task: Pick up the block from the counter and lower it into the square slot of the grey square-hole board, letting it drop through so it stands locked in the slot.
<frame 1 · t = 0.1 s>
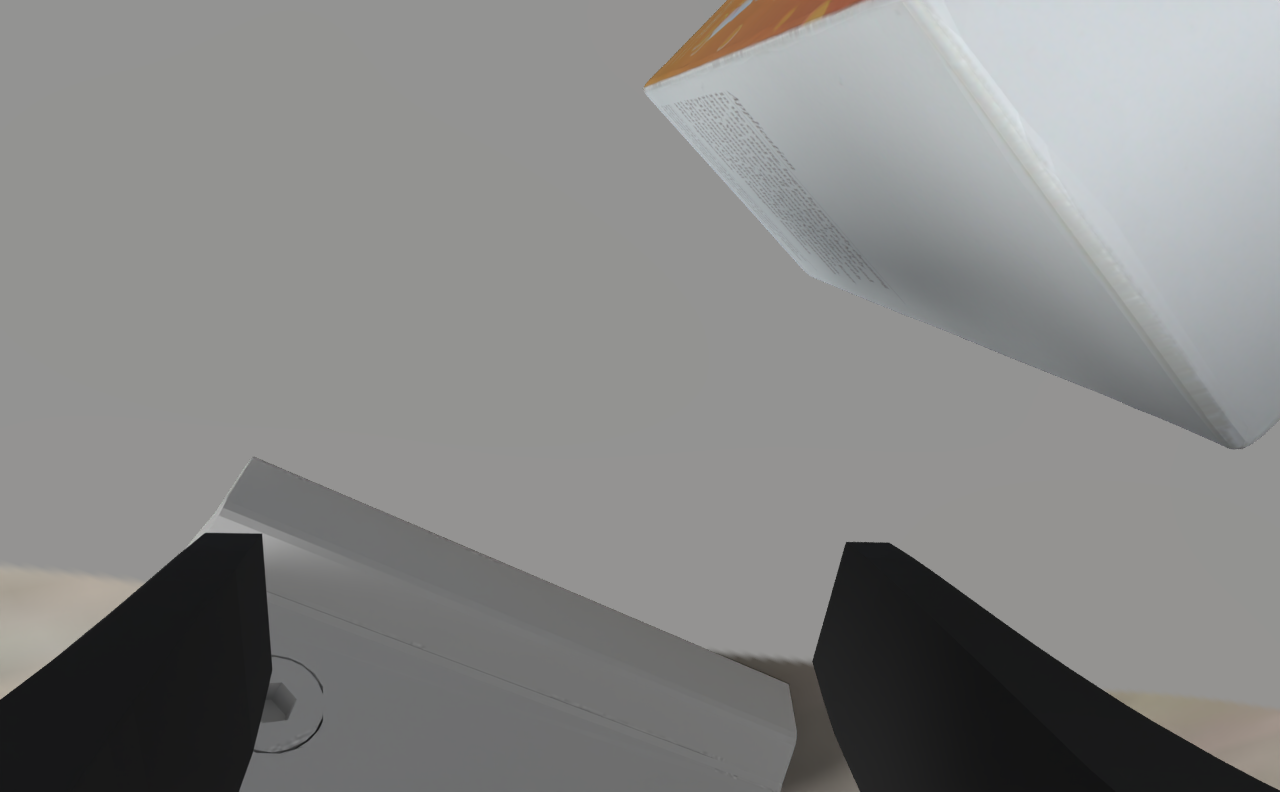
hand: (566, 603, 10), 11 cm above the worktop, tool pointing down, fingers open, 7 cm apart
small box: (840, 66, 20), on the worktop
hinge: (481, 689, 23), on the worktop
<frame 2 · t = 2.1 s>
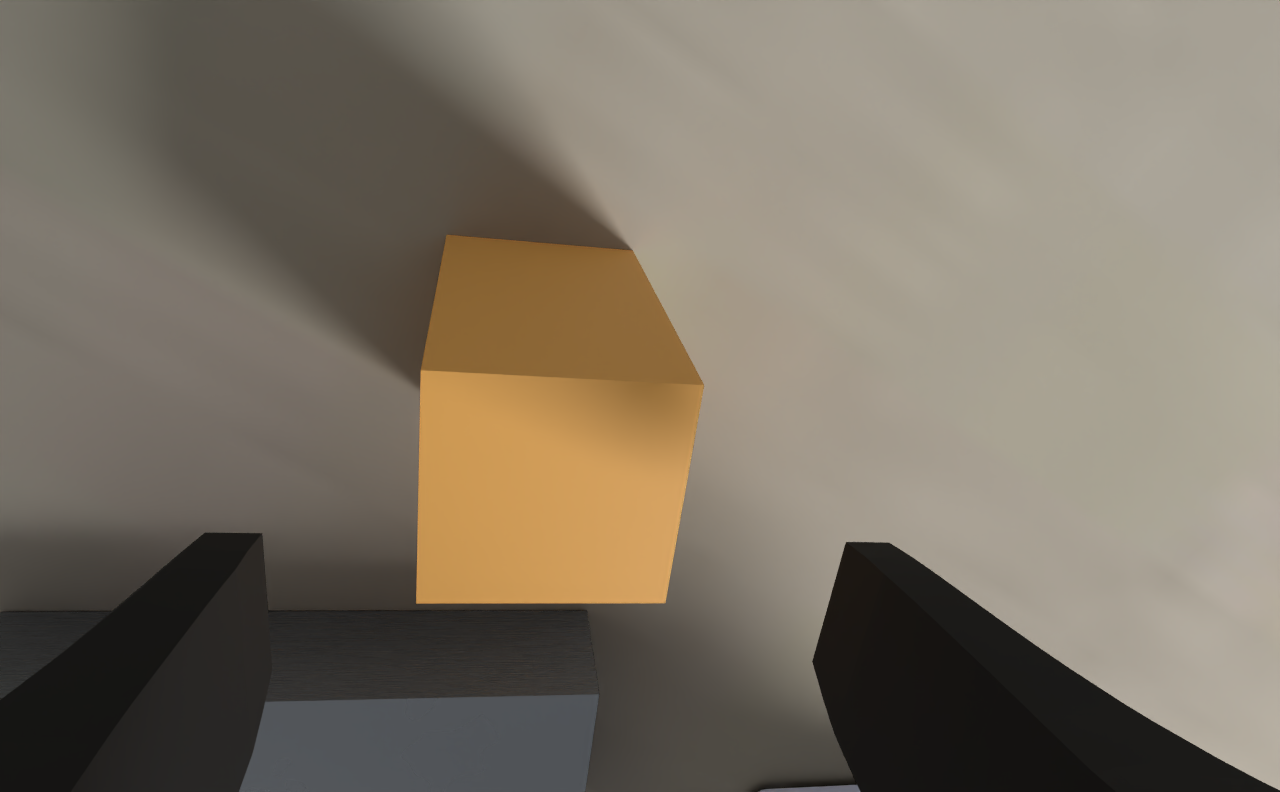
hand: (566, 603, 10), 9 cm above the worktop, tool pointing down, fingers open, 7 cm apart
block: (534, 329, 19), on the worktop
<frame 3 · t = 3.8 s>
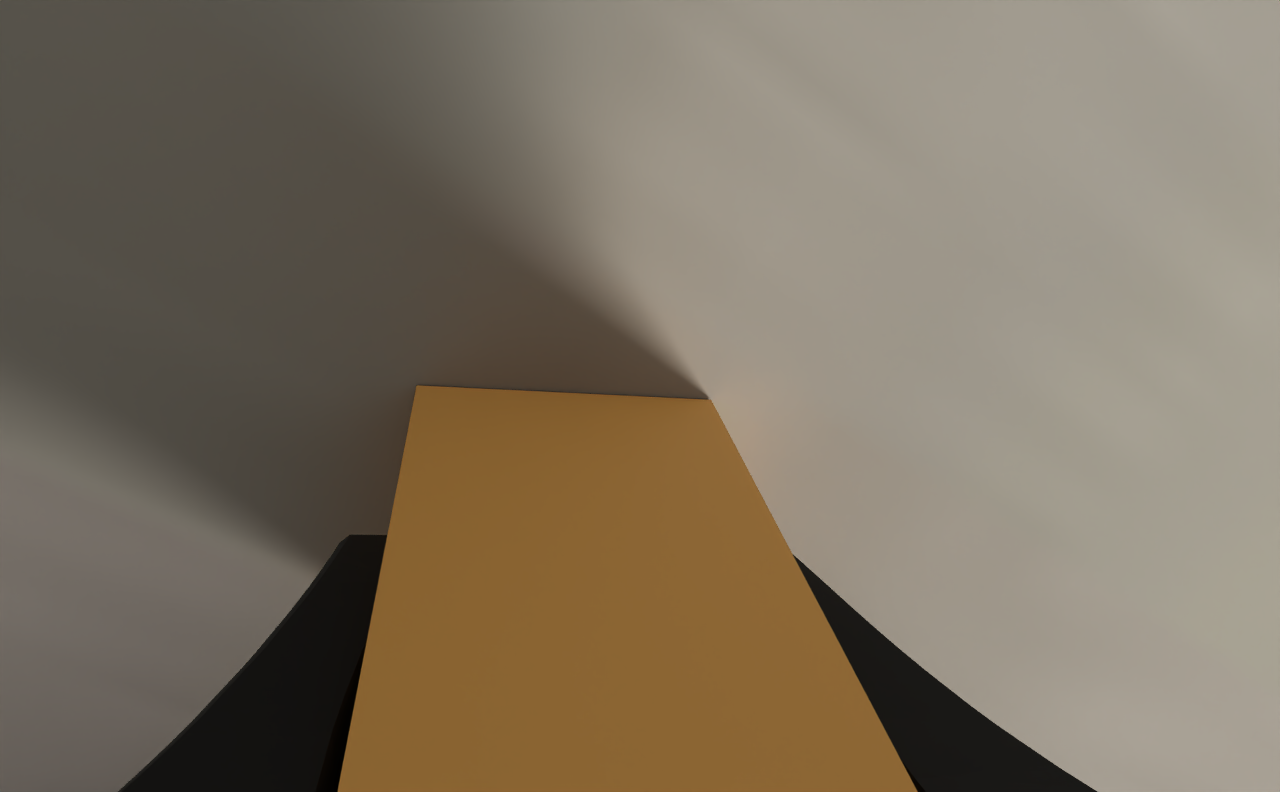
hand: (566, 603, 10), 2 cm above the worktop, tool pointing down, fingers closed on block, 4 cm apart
block: (556, 516, 12), on the worktop, touching gripper
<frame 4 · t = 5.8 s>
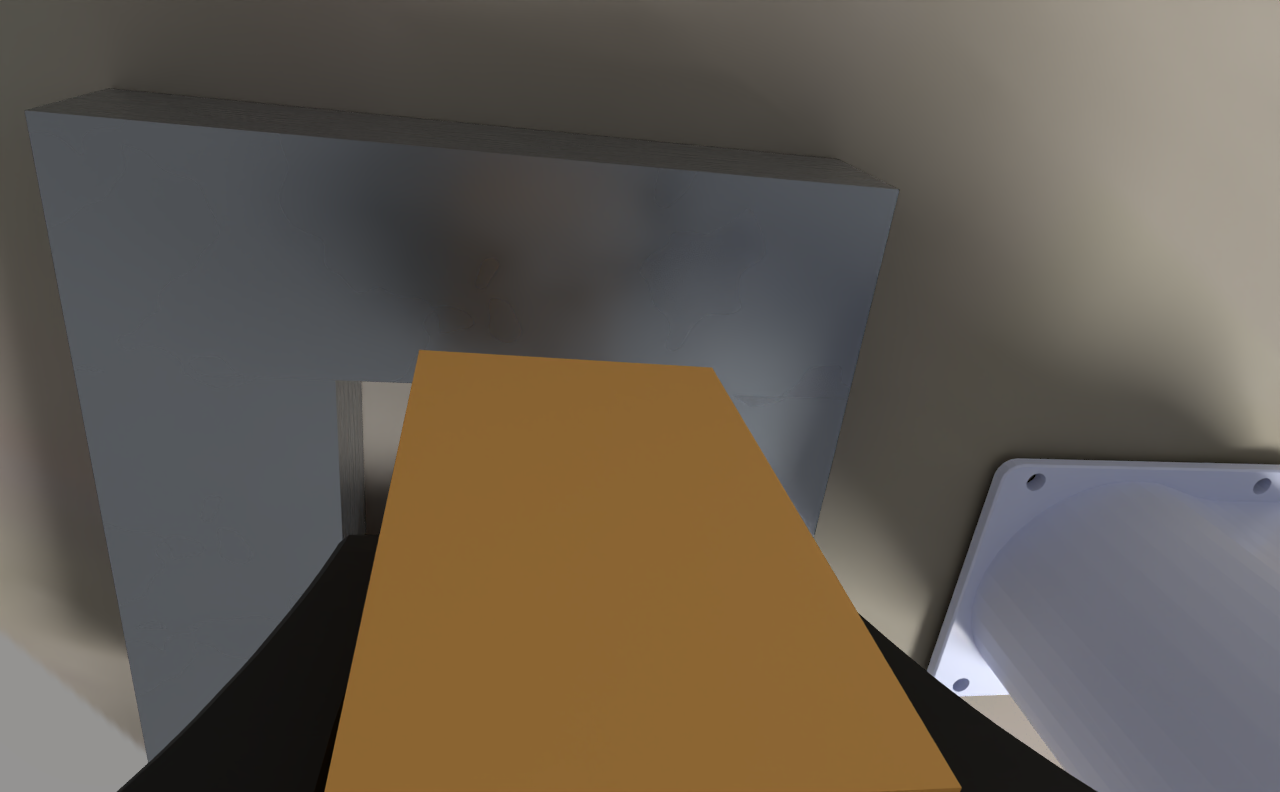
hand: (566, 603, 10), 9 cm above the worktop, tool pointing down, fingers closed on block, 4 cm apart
block: (557, 485, 12), point 7 cm above the worktop, touching gripper
grey square-hole board: (489, 440, 19), on the worktop
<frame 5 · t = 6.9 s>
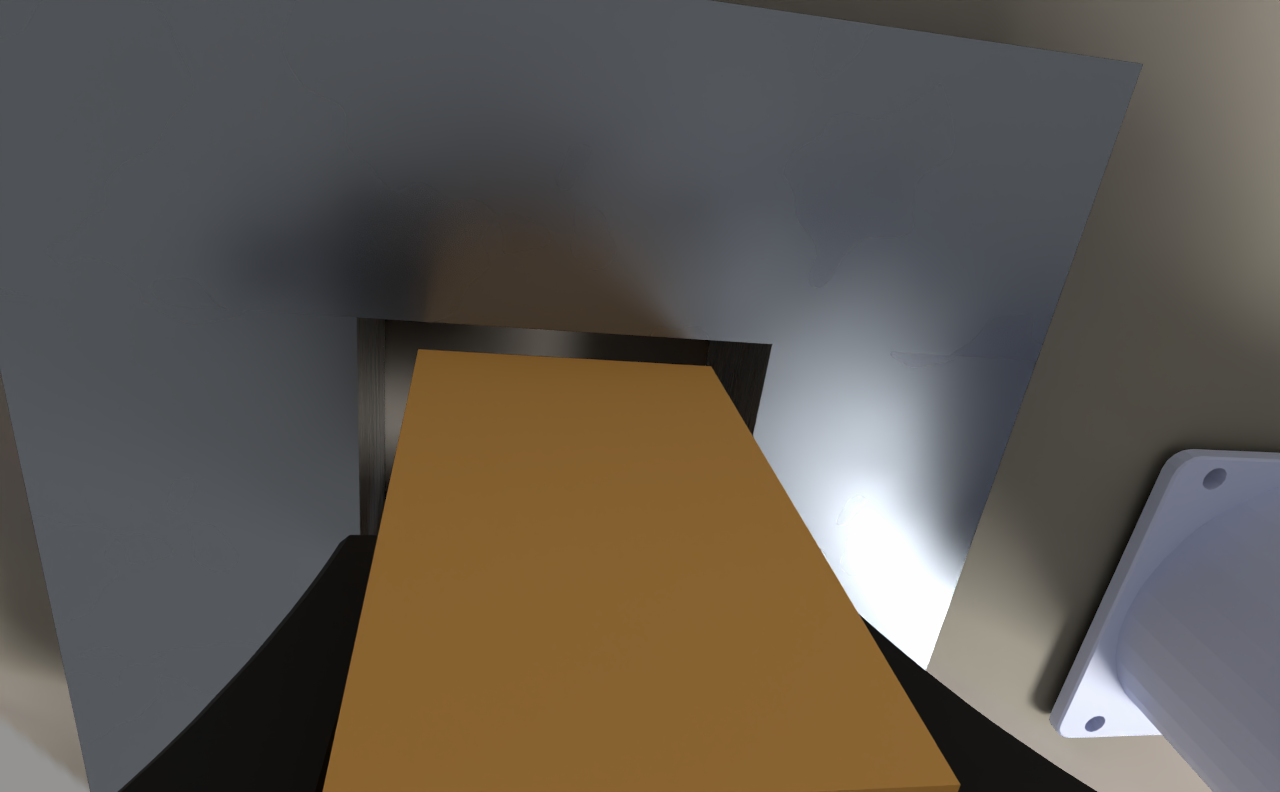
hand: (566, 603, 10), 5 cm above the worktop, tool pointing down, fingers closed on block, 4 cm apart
block: (557, 484, 12), point 3 cm above the worktop, touching gripper
grey square-hole board: (545, 414, 15), on the worktop
when the fingers open (4 cm above the worktop, at t = 7.9 s): block drops 2 cm, resting in grey square-hole board.
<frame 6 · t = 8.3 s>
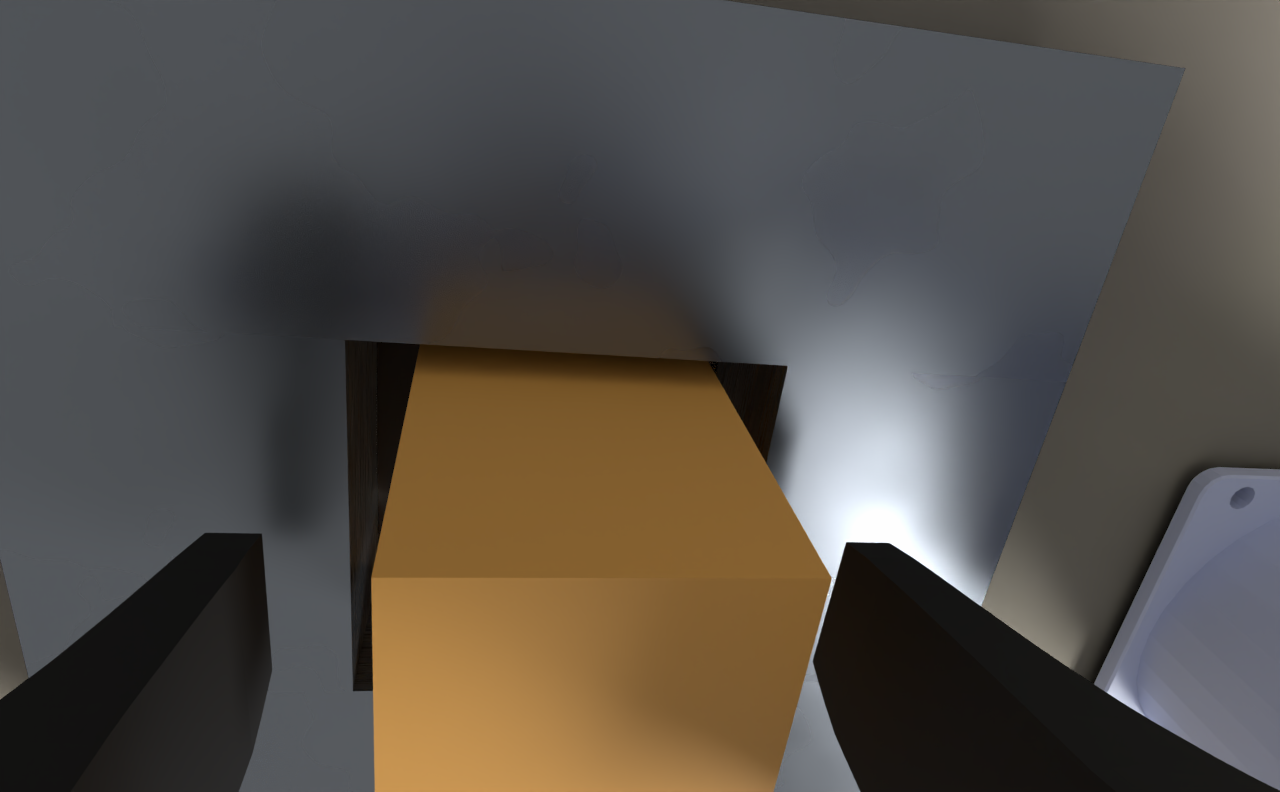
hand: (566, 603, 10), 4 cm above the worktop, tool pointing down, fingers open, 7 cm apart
block: (548, 413, 14), resting in grey square-hole board
grey square-hole board: (546, 435, 14), on the worktop
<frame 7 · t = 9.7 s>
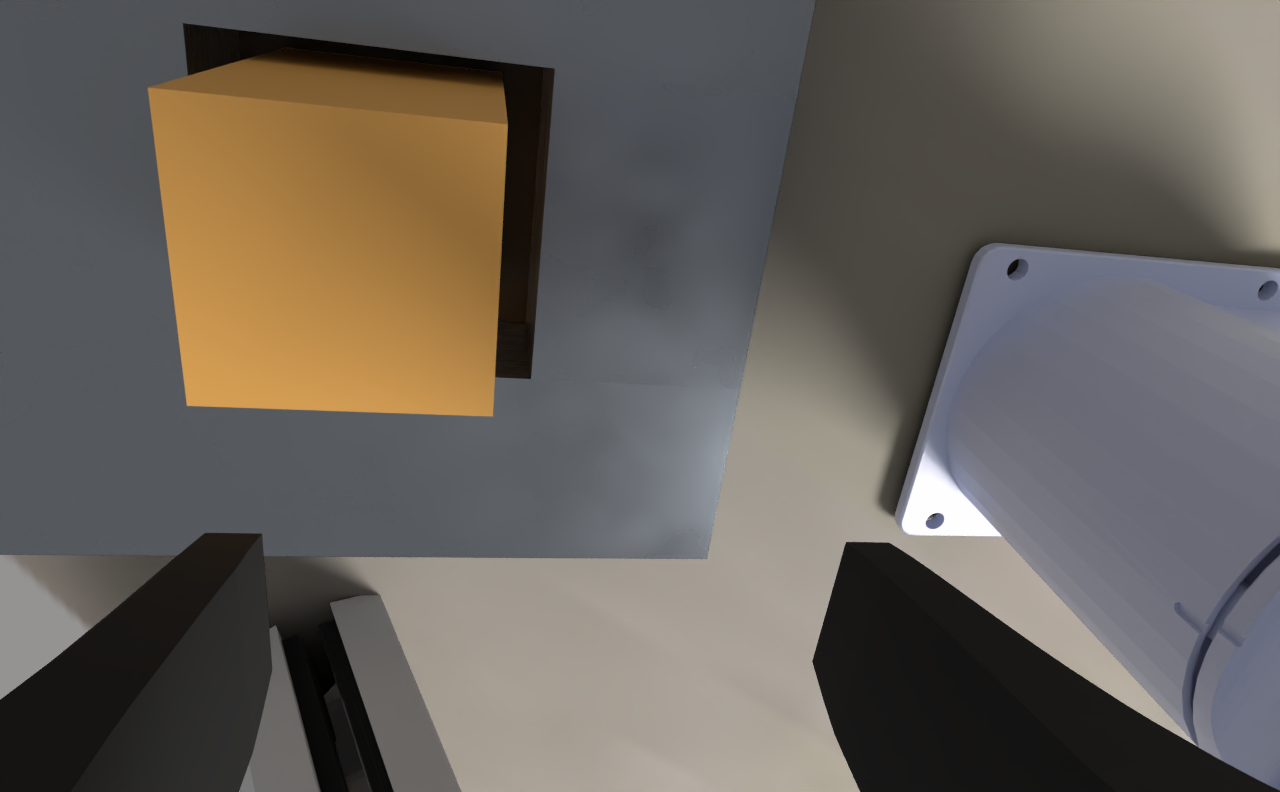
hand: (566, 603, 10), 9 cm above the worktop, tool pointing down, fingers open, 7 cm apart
block: (396, 166, 17), resting in grey square-hole board
grey square-hole board: (396, 185, 17), on the worktop
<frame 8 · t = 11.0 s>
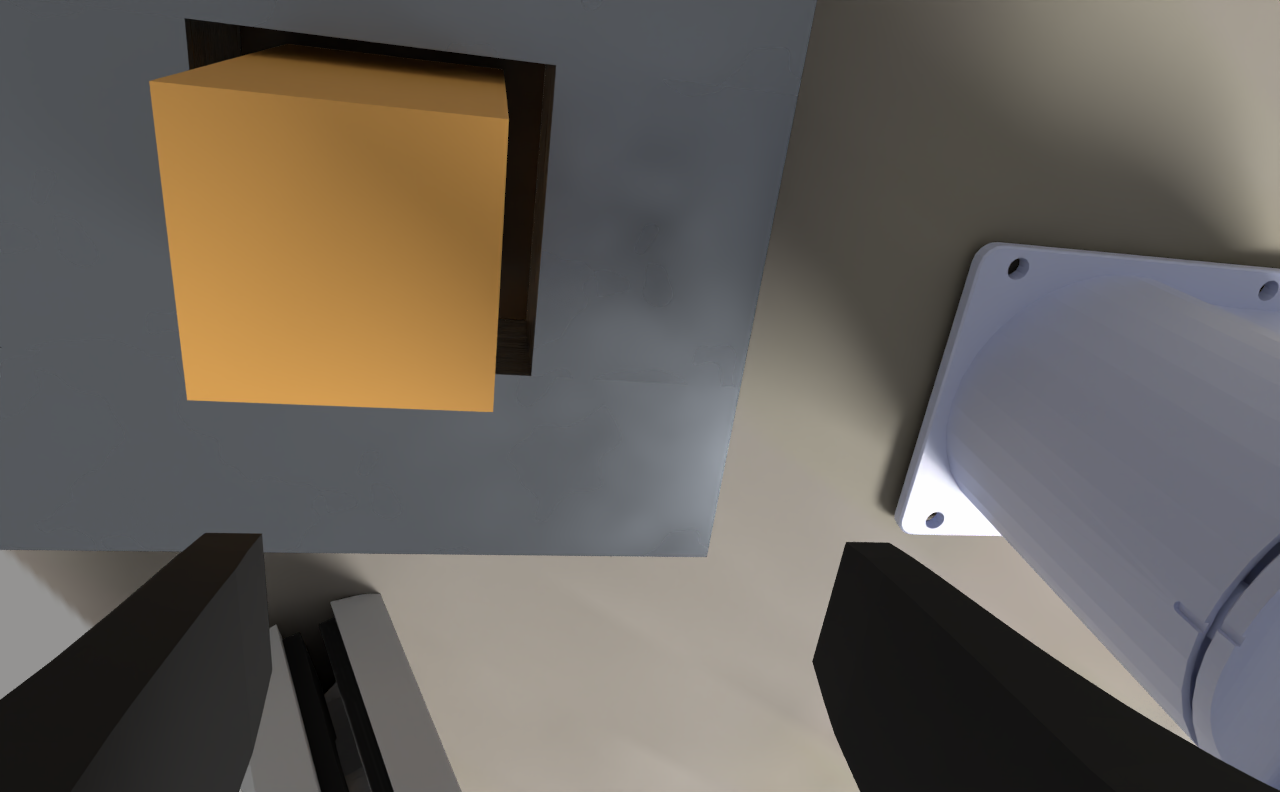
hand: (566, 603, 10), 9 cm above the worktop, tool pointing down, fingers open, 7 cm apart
block: (398, 162, 17), resting in grey square-hole board
grey square-hole board: (397, 182, 17), on the worktop
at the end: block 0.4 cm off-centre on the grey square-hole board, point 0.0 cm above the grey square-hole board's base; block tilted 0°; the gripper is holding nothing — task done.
